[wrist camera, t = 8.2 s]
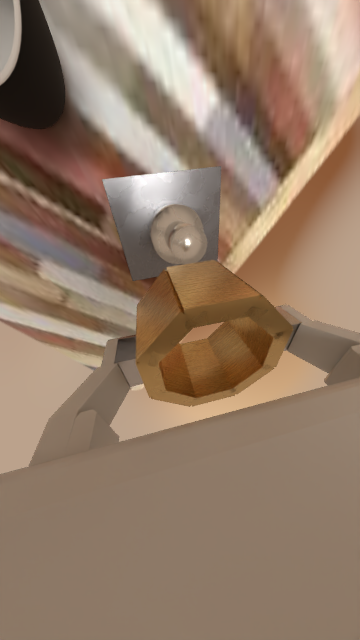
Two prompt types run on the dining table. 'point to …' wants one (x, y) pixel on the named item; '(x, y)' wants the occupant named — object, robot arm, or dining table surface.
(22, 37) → the mug
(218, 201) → the grey plate with knob
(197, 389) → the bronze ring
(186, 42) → the dining table surface
